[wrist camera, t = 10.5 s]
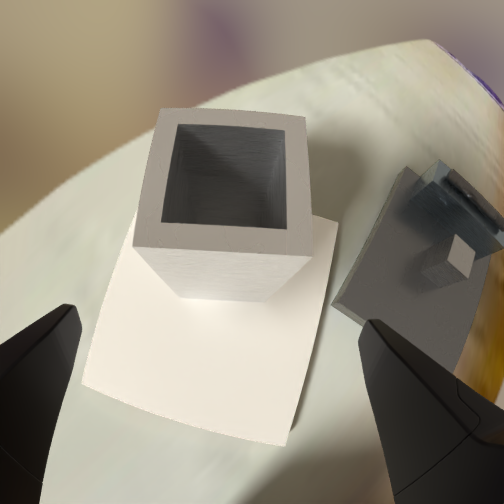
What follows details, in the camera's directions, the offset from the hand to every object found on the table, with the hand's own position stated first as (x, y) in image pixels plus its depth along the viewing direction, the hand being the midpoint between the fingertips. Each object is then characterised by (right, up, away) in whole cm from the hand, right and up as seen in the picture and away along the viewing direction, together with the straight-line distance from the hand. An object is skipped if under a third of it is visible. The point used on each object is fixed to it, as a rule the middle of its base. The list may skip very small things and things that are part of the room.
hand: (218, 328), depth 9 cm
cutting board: (-2, -2, +12) cm, 12 cm away
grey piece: (+15, +1, +14) cm, 21 cm away
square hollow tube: (-1, +2, +11) cm, 12 cm away
